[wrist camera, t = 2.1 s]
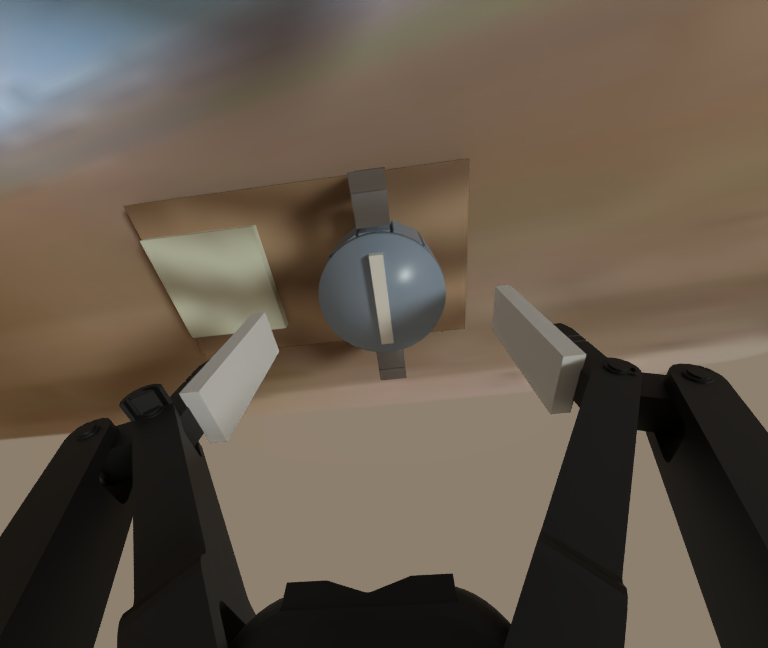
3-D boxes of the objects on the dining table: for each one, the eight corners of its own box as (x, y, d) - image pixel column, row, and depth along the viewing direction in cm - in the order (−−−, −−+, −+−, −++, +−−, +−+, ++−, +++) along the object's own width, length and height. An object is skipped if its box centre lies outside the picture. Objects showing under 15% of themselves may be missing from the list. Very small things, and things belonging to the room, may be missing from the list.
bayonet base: (134, 201, 22) (36, 215, 16) (465, 155, 21) (500, 152, 14) (210, 349, 29) (163, 400, 23) (461, 324, 28) (484, 370, 21)
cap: (316, 206, 20) (294, 219, 15) (431, 191, 19) (446, 200, 14) (345, 336, 25) (336, 376, 20) (435, 326, 24) (448, 366, 20)
